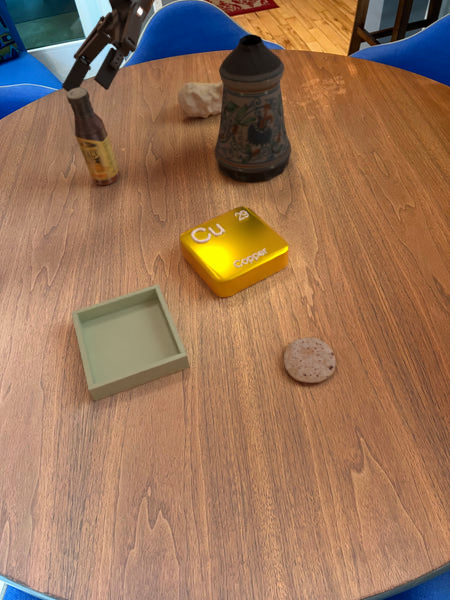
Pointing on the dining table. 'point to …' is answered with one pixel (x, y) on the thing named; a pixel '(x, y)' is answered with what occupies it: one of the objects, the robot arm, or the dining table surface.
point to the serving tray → (128, 342)
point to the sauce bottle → (93, 139)
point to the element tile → (234, 251)
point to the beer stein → (252, 114)
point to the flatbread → (309, 360)
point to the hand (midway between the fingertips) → (83, 88)
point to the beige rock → (201, 99)
